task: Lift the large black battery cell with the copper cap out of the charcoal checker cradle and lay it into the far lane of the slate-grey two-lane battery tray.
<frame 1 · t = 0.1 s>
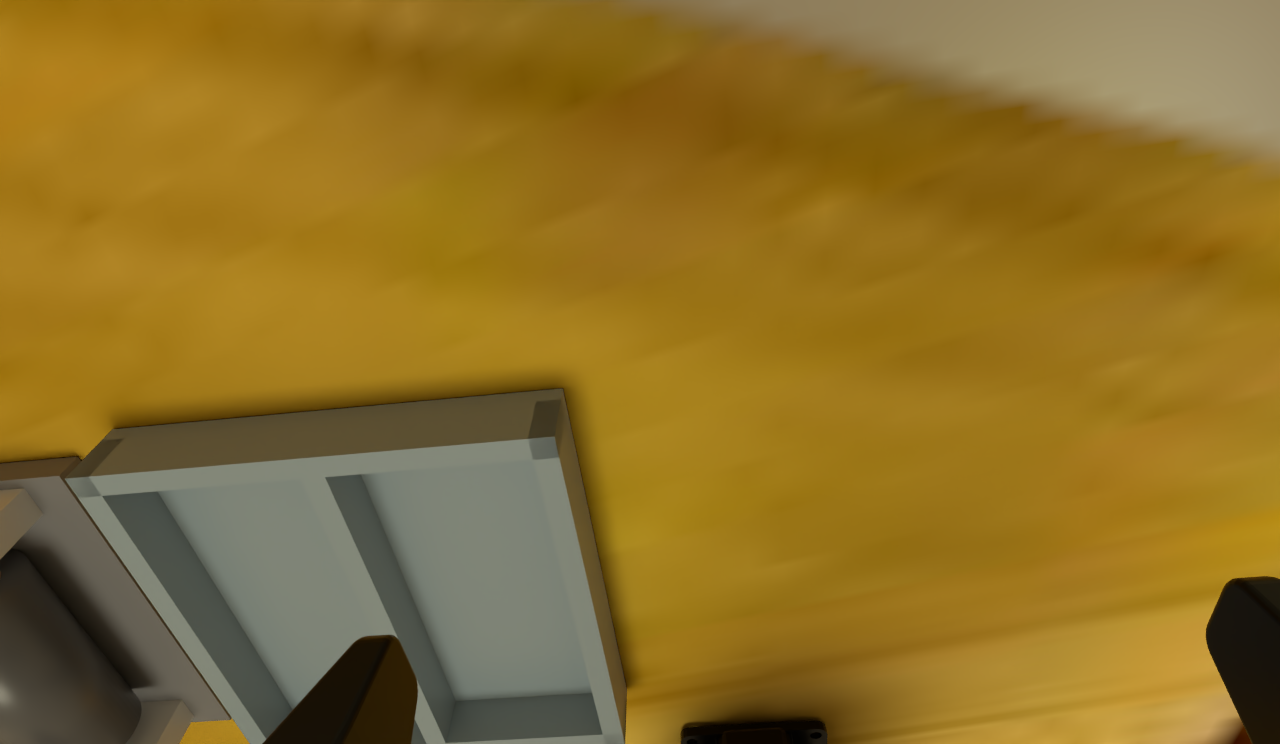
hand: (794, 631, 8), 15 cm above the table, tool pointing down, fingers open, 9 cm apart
cell tray: (402, 576, 29), on the table
battery cell: (59, 620, 30), point 1 cm above the table, touching checker cradle
checker cradle: (75, 599, 31), on the table
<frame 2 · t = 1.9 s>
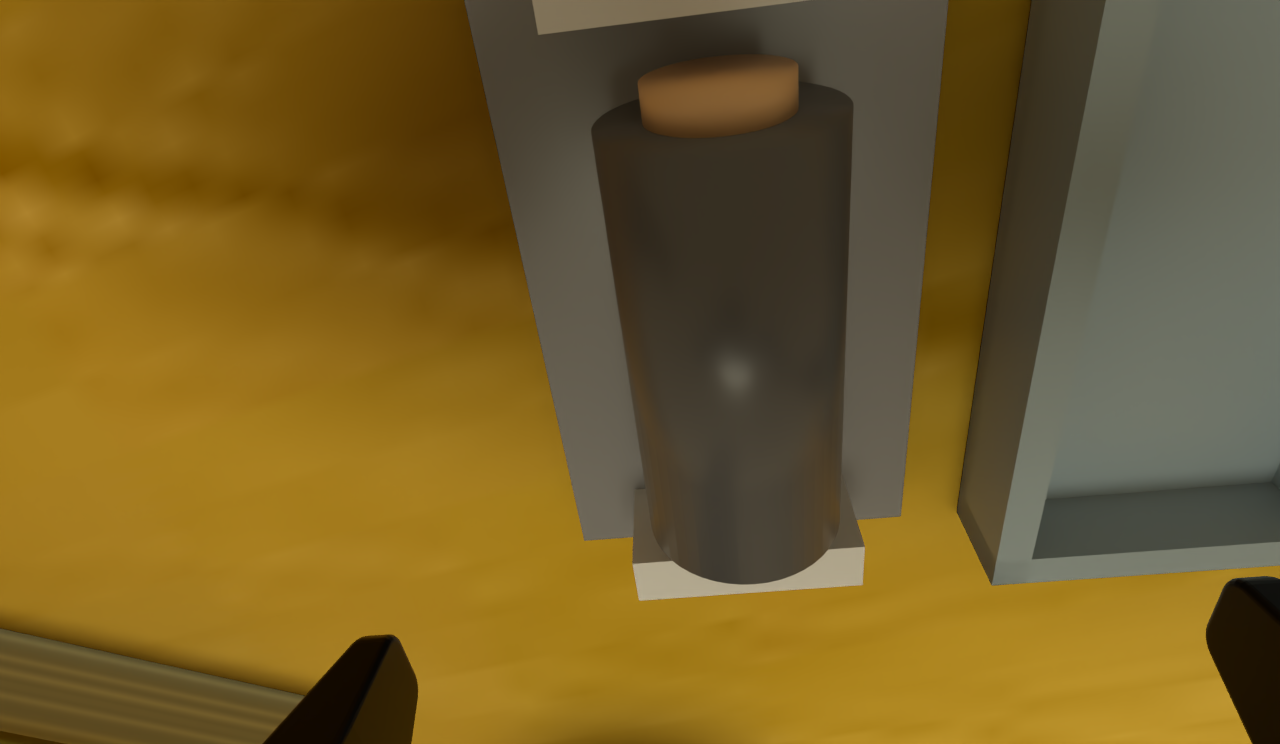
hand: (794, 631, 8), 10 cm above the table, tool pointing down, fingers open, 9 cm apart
battery cell: (723, 281, 16), point 1 cm above the table, touching checker cradle
checker cradle: (720, 260, 16), on the table
hardcover book: (24, 708, 27), on the table
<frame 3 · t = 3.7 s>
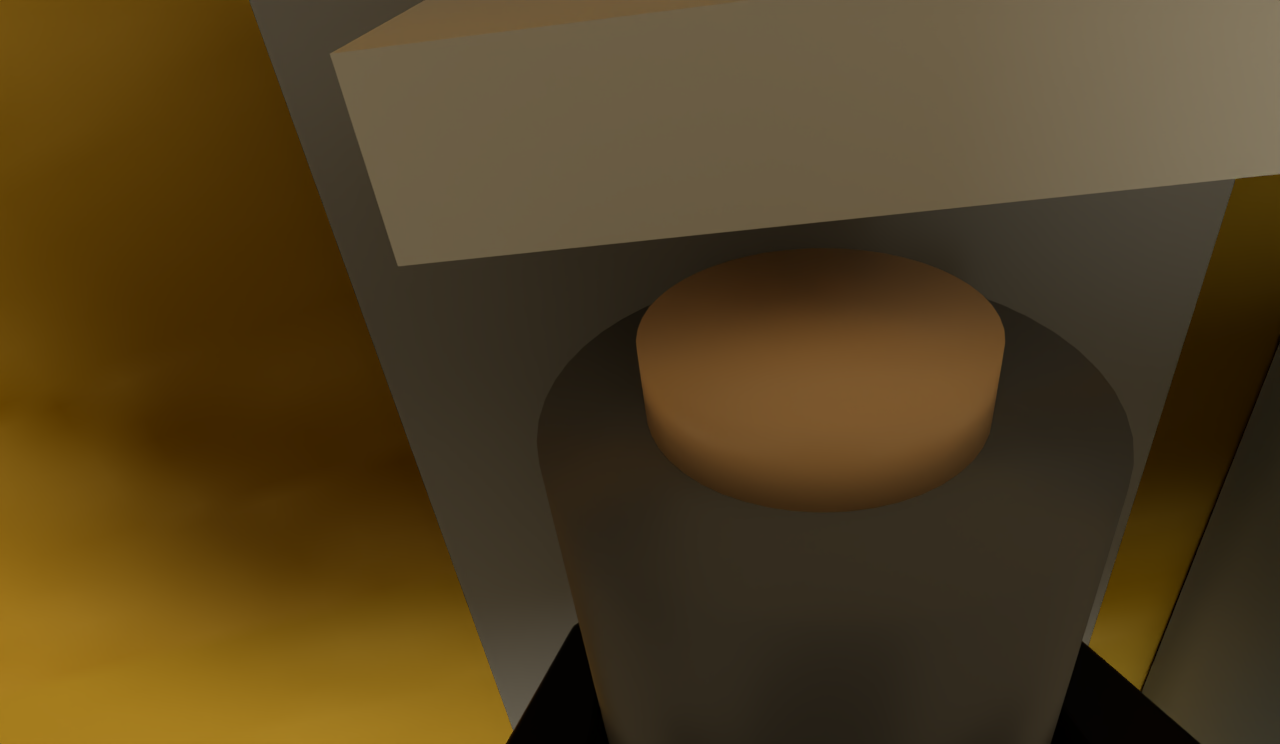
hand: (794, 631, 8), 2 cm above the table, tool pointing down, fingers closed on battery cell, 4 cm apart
battery cell: (780, 561, 9), point 1 cm above the table, touching checker cradle, gripper
checker cradle: (769, 504, 10), on the table
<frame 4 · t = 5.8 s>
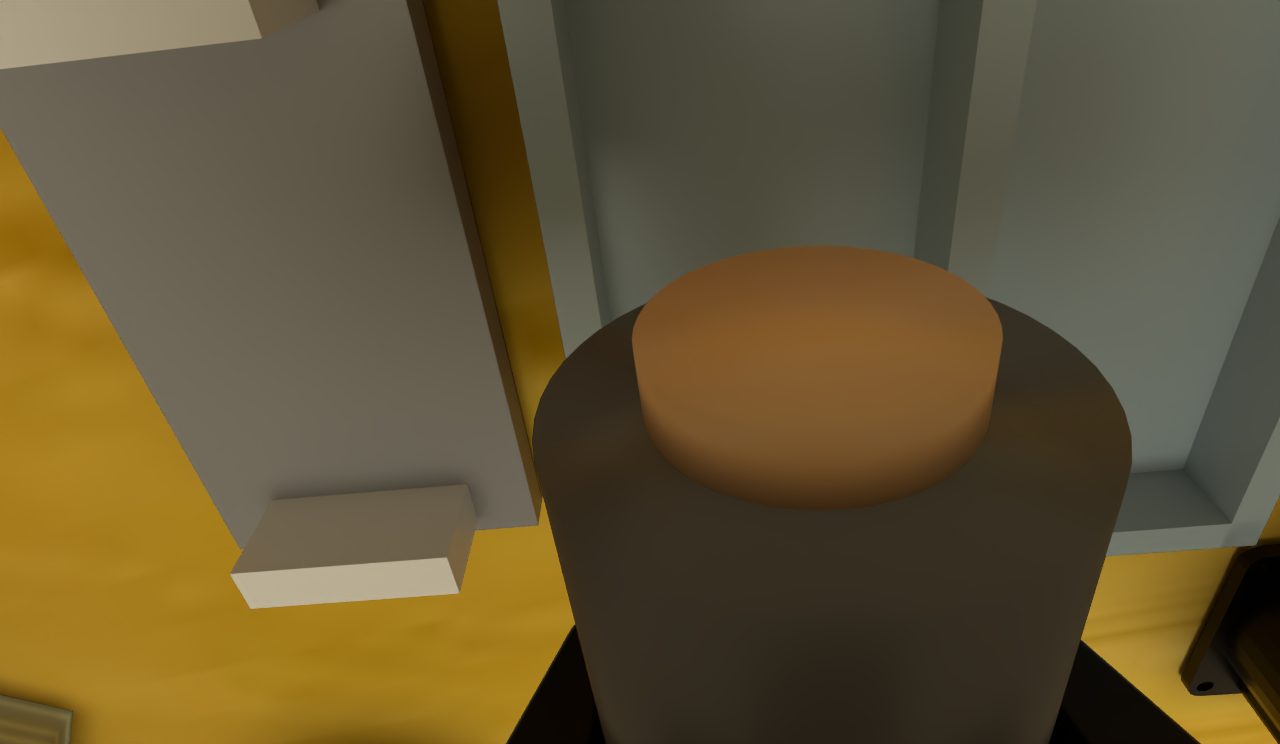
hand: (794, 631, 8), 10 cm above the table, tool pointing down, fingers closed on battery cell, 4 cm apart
cell tray: (926, 220, 16), on the table
battery cell: (778, 561, 9), point 9 cm above the table, touching gripper
checker cradle: (308, 281, 17), on the table
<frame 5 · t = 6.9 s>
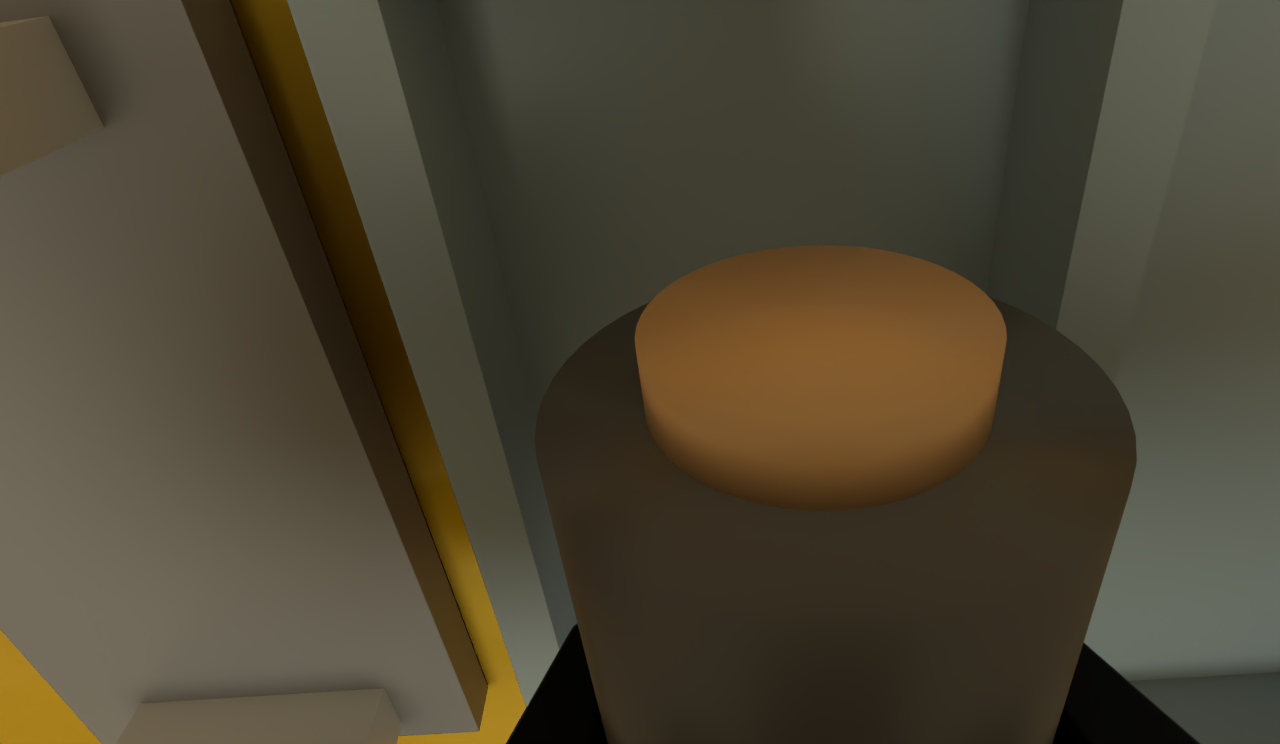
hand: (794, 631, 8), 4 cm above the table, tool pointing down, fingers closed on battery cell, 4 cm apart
cell tray: (984, 376, 12), on the table
battery cell: (780, 561, 9), point 3 cm above the table, touching gripper
checker cradle: (161, 450, 13), on the table
when the fingers open (3 cm above the table, at t = 7.8 s): battery cell drops 2 cm, resting on cell tray.
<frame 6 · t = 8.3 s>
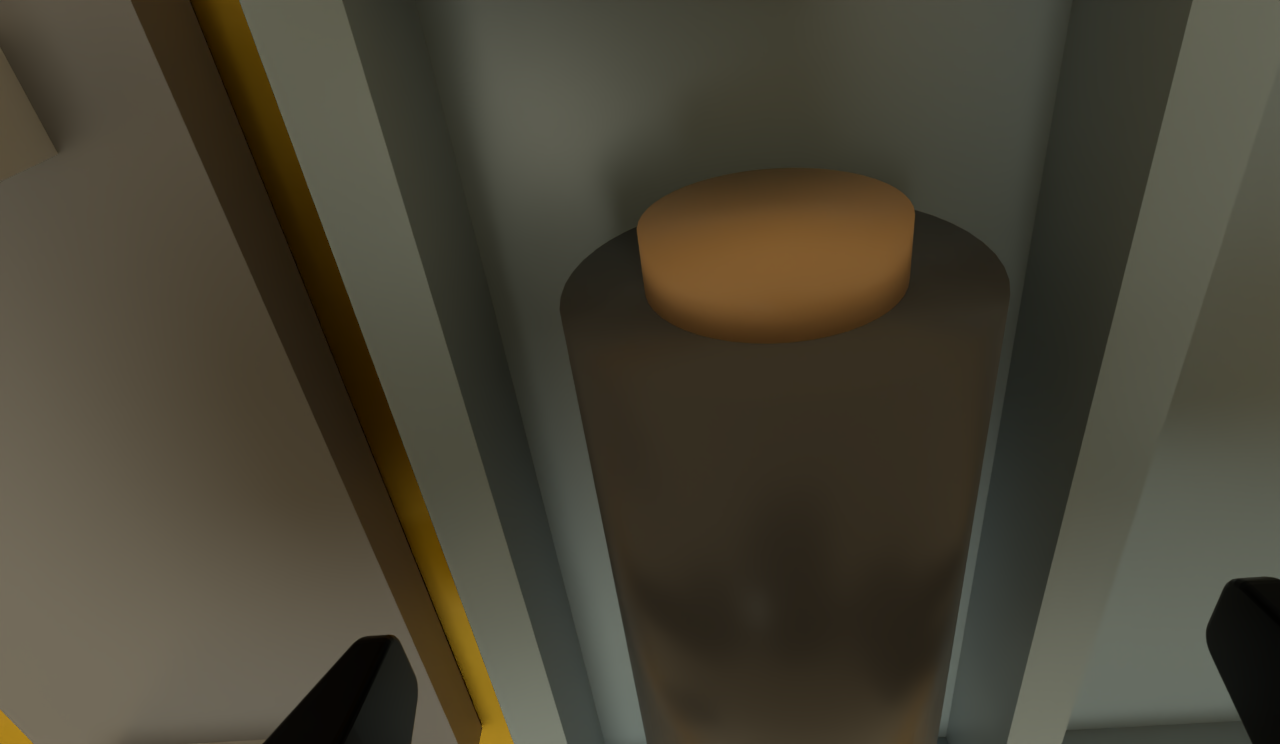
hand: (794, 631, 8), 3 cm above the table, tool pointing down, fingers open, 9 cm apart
cell tray: (1009, 412, 11), on the table
battery cell: (762, 459, 11), point 1 cm above the table, touching cell tray
checker cradle: (133, 487, 12), on the table
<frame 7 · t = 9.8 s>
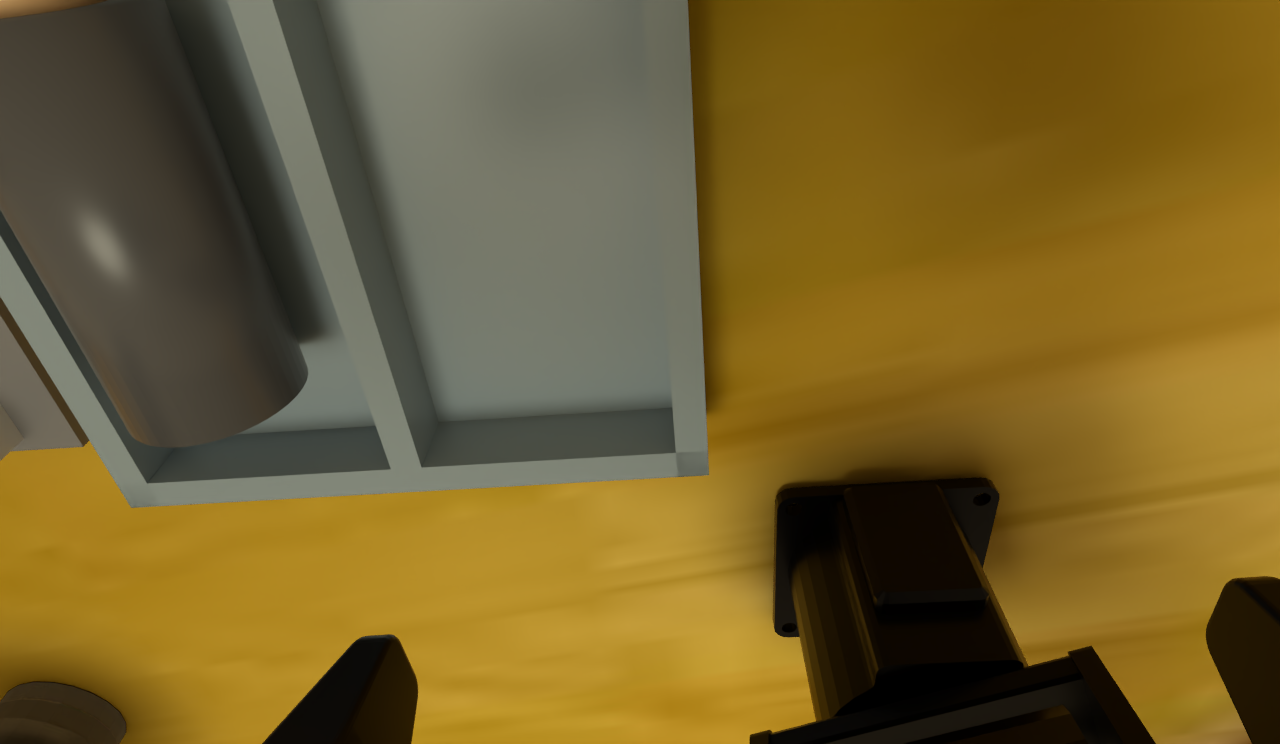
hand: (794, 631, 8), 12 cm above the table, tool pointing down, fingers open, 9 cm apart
cell tray: (355, 160, 18), on the table
battery cell: (190, 181, 17), point 1 cm above the table, touching cell tray
beverage cup: (69, 711, 30), on the table
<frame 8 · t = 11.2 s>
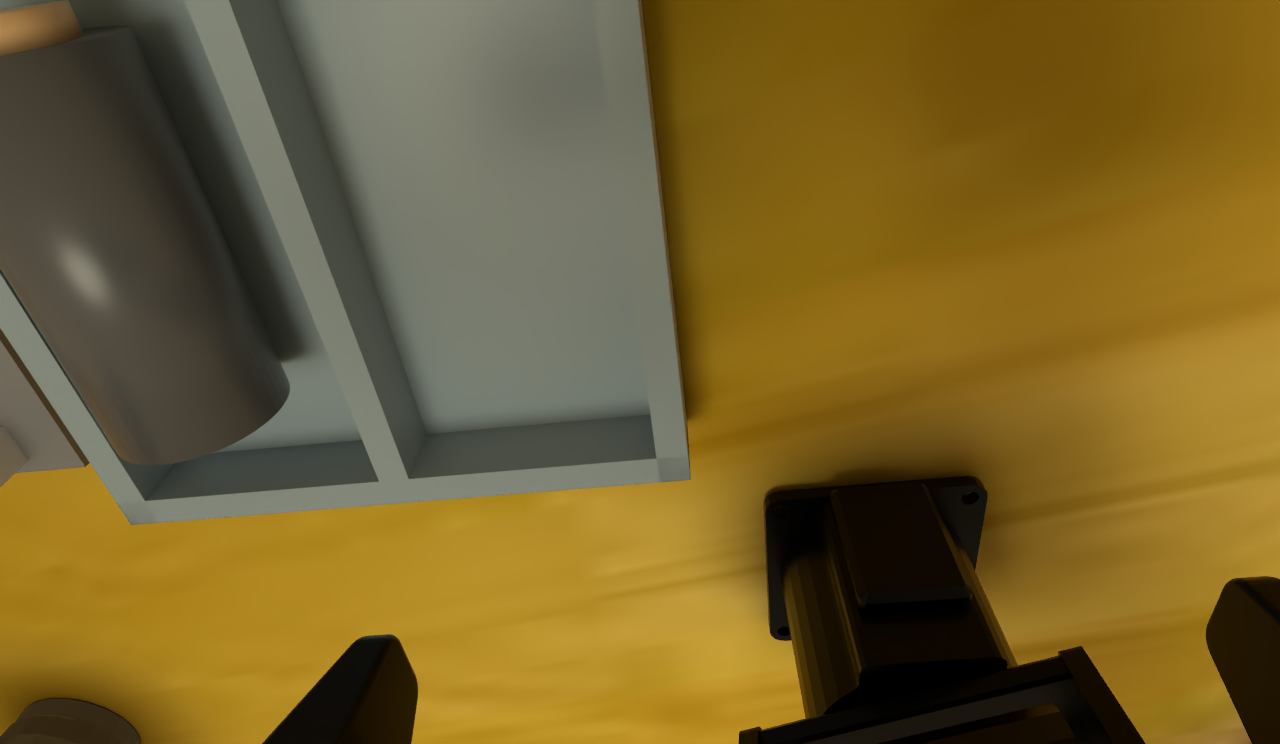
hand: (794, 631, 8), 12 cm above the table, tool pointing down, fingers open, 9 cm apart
cell tray: (334, 181, 18), on the table
battery cell: (176, 207, 18), point 1 cm above the table, tilted 8°, touching cell tray
beverage cup: (85, 727, 31), on the table
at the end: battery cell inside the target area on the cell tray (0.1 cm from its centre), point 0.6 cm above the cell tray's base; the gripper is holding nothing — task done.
